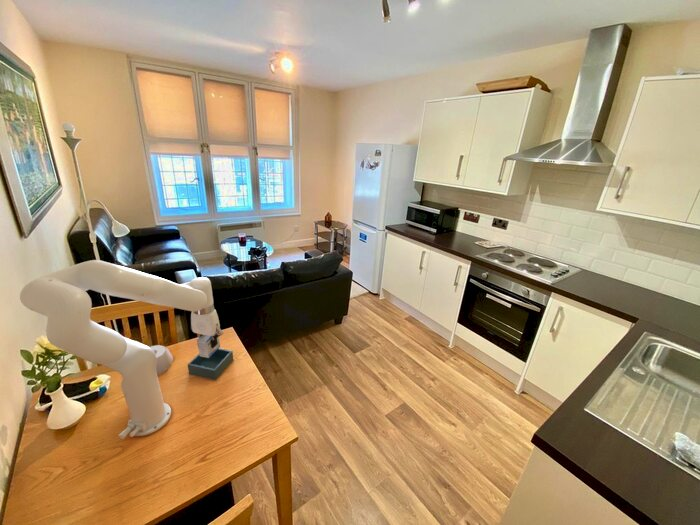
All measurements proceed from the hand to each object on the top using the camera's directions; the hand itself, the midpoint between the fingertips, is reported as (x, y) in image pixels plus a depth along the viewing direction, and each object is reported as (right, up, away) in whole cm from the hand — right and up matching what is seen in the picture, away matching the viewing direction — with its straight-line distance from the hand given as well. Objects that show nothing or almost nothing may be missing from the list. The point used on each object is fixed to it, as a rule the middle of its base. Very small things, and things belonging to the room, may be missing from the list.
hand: (209, 344), depth 121 cm
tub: (-1, -11, +4) cm, 12 cm away
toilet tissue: (-23, -10, +3) cm, 25 cm away
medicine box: (0, -4, +2) cm, 4 cm away
